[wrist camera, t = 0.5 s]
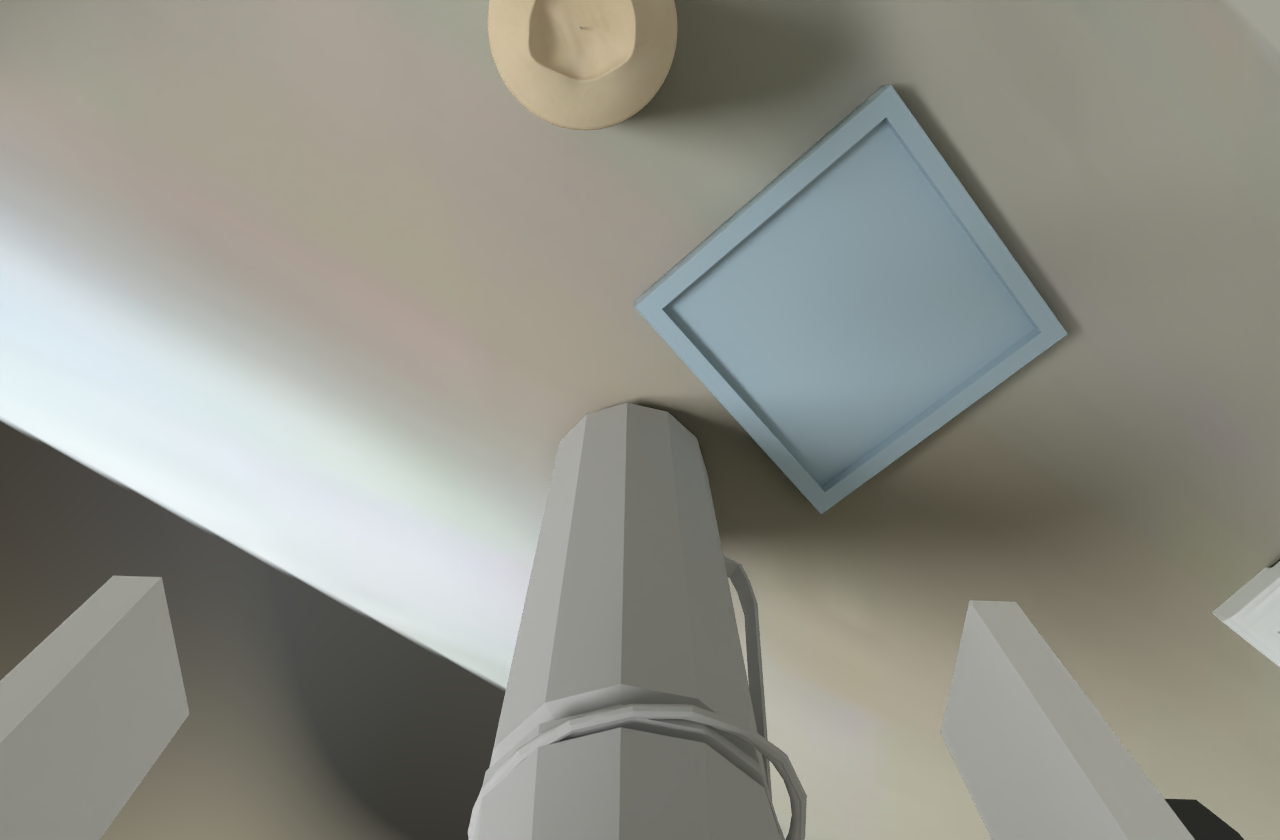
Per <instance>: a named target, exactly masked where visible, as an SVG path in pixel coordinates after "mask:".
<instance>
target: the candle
mask: <svg viewBox="0 0 1280 840" xmlns="http://www.w3.org/2000/svg"><path fill="white" fill-rule="evenodd" d="M677 31H678V26H677V13H676V7H675V1H674V0H490V2H489V11H488V35H489V43H490V47H491V51H492V55H493V59H494V61H495V64H496V67H497V69H498V71H499V73H500V75H501V77H502V79H503V81H504V83H505V84H506V86H507V87H508V88H509V90H510V91H511V93H512V94H513V95H514V96H515V97H516V98H517V100H518V101H519V102H520V103H521V104H522V105H524V106H525V107H526V108H527V109H528V110H529V111H531V112H532V113H534V114H535V115H537V116H538V117H540V118H541V119H543V120H545V121H547V122H549V123H552V124H554V125H557V126H560V127H564V128H569V129H574V130H595V129H602V128H606V127H610V126H613V125H615V124H618V123H621V122H623V121H624V120H626V119H628V118H630V117H632V116H633V115H635V114H636V113H637V112H639V111H640V110H641V109H642V108H643V107H644V106H646V105H647V104H648V103H649V102H650V101H651V99H652V98H653V97H654V96H655V94H656V93H657V92H658V91H659V89H660V87H661V86H662V84H663V82H664V81H665V79H666V77H667V75H668V72H669V70H670V68H671V65H672V61H673V58H674V55H675V49H676V44H677Z"/></svg>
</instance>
